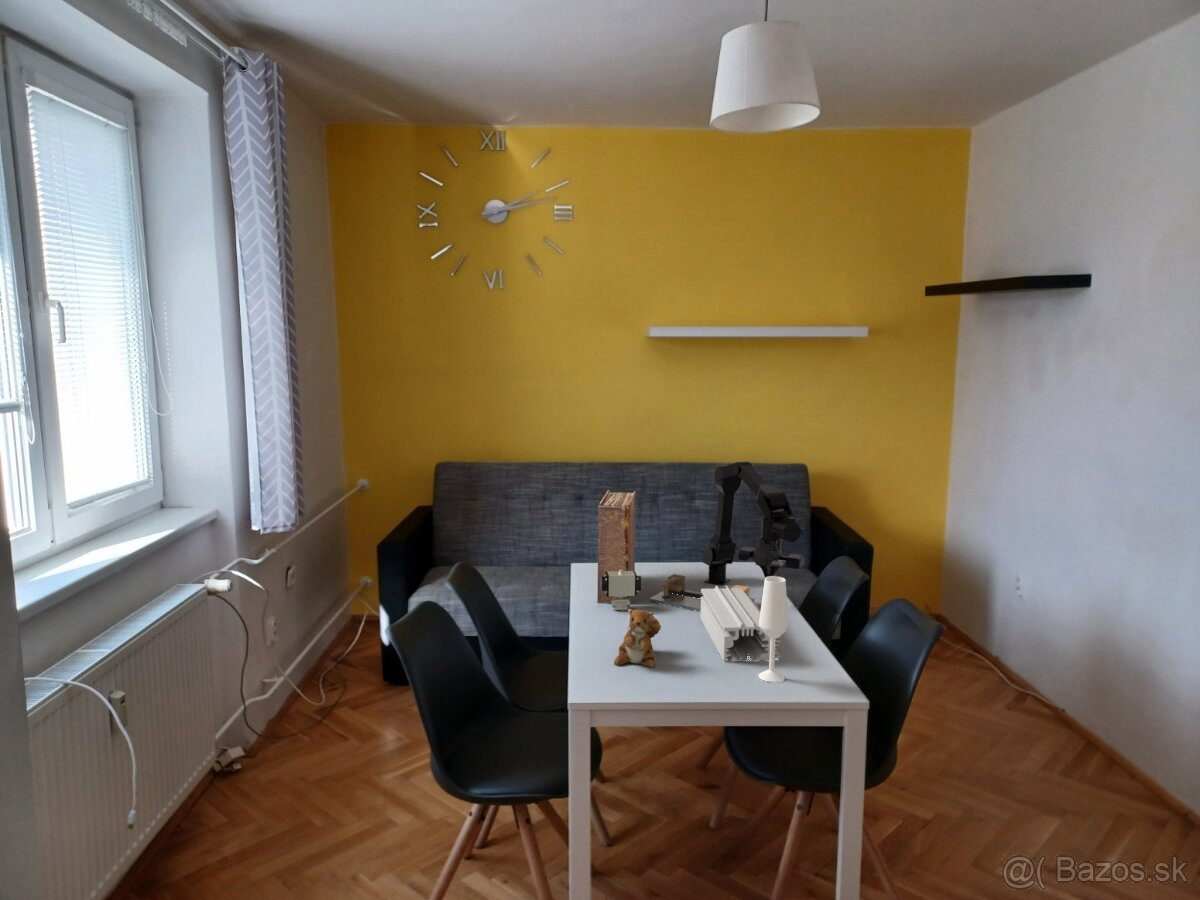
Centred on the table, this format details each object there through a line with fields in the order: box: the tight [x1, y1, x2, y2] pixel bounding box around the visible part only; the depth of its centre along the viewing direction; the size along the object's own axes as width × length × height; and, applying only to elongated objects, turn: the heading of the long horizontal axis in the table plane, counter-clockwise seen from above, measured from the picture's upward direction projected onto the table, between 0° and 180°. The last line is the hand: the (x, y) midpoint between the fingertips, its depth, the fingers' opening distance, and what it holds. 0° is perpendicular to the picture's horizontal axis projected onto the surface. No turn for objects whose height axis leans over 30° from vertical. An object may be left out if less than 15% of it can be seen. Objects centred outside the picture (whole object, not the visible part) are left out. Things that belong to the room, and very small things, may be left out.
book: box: [597, 489, 637, 604], centre depth 249 cm, size 25×9×30 cm, turn 173°
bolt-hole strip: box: [649, 591, 701, 612], centre depth 238 cm, size 8×24×1 cm, turn 59°
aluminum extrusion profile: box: [699, 585, 782, 663], centre depth 211 cm, size 14×31×10 cm, turn 4°
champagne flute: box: [757, 575, 789, 682], centre depth 185 cm, size 7×7×24 cm
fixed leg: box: [661, 573, 686, 596], centre depth 245 cm, size 11×4×4 cm, turn 149°
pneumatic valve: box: [600, 569, 643, 611], centre depth 233 cm, size 6×12×12 cm, turn 95°
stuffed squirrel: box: [613, 608, 662, 668], centre depth 197 cm, size 10×14×13 cm
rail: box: [668, 588, 755, 602], centre depth 243 cm, size 3×28×2 cm, turn 59°
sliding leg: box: [732, 584, 750, 597], centre depth 234 cm, size 11×4×4 cm, turn 149°
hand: (769, 585), depth 232 cm, fingers closed
